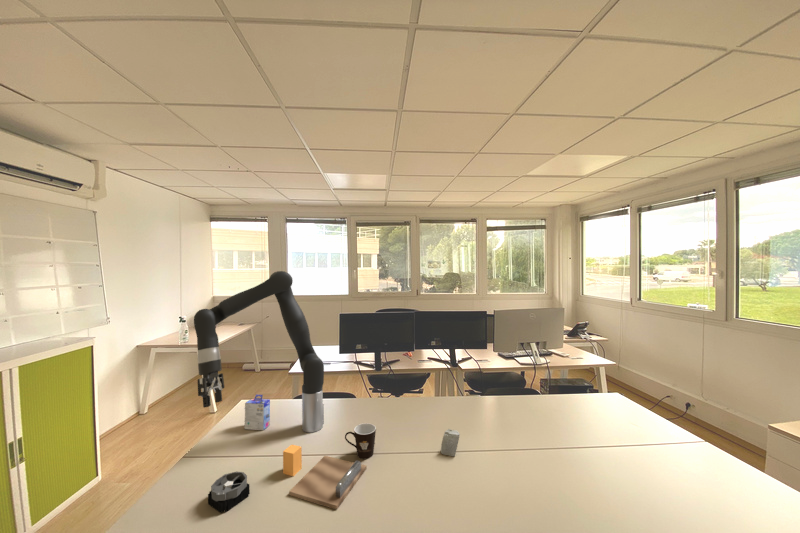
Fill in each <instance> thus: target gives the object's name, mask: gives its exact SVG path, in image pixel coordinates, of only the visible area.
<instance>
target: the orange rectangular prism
mask: <svg viewBox="0 0 800 533" xmlns="http://www.w3.org/2000/svg"><path fill="white" fill-rule="evenodd" d="M302 455H303V453H302V446H300V445H297V444H296V445H295V444H290V445H289V446H288V447H286V448H285V449H284V450H283V451H282V470H283V471H282V473H283V475H287V476H290V477H295V476H296V475H297V474H298V473H299V472H300V471H301V470H302V468H303V465H302V463H303V460H302V459H303V456H302Z"/></svg>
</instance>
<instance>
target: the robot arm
mask: <svg viewBox="0 0 800 533" xmlns="http://www.w3.org/2000/svg"><path fill="white" fill-rule="evenodd" d="M293 283H294V282H293V277H292V275H291V274H290V273H288V271H283V270H277V271H274V272H273V273H272V274H271V275H270V276H269V278H267V279H266V280H265V281H263V282H261V283H260V284H258V285H256V286H253V287H250V288H248V289H245V290H243V291H241V292H238V293H235V294H233V295H231V296H229V297H227V298H226V299H224V300H222V301H220V302H219V303H218V305H216V306H213V307H212V308H209V309H208V308H203V309H199V310H197V312H196V313H195V314H194V316H193V326H194V331H195V335H196V340H197V341H196V342H197V343H196V345H197V367H198V375H199V376H202V377H201V378H198V379H197V395H198V397H201V398H202V405H203V408H204V409H205V408H209V407H211V393H212V392H211V391H212V390H213V391H214V400H215V403H221V402H222V401H223V394H222V391H223V389H225V380H224V373H219V372H221V371H222V368H223V366H222V358H221V350H220V345H219V344H220V343H219V335H218V333H217V330H216V328H217V327H216V326H217V325H218V324H220V323H221V322H223V321H224V320H226V319H227V318H229V317H230V316H233V315H235V314H237V313H239V312H241V311H242V310H243V311H244V310H245V309H247V308H248V307H250V306H252V305H254V304H256V303H258V302H259V301H262V300H264V299H266V298H269V297H271V296H272V295H273V296H275V299H276V301H277V302H278V305H279V310H280V313H281V314H280V315H281V317H282V319H283V323H284V326H285V328H286V331H287V333H288V337H289V338H290V340H291V342H292V344H293V346H294V347H295V348H294V349H295V350H296V353H297V357H298V360H299V365H300V369H301V371H302V372H303V374H302V376H303V380H302V381H303V383H302V385H301V409H302V410H301V412H302V413H301V419H302V421H301V424H302V426H301V428H302V431H303V432H304V433H316V432H318V431H320V430H321V429H322V428H323V427H324V423H325V415H324V414H325V410H324V409H325V408H324V405H325V404H324V403H323V402H324V400H323V399H324V397H323V395H324V394H323V385H324V380H325V378H324V376H325V367H324V362H323V360H322V359H321V358H320V357H319V356H318V355H317V353H316V351H315V349H314V347H313V345H312V341H311V334H310V328H309V324H308V321H307V319H306V317H305V314H304V312H303V310H302V308H301V307H300V305H299V303H298V301H297V300H296V298H295V296H294V292H293V289H292V285H293Z"/></svg>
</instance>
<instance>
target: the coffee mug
mask: <svg viewBox="0 0 800 533" xmlns="http://www.w3.org/2000/svg"><path fill="white" fill-rule="evenodd" d="M353 431H354V432H352V431H348V432H346V433H345V434H344V435H345V436H344V439H345V441H346V442H347V443H348V444H349V445H350V446H353V447H355V449H356V455H357V457H358V458H359V459H361V460H366V459H370V458H372V457H373V456H374V453H375V452H374V451H375V443H376V442H375V441H376V433H377V432H376V431H377V427H376V425H374V424H373V423H369V422H365V423H364V422H362V423H359V424H358V425H356V426H355V427H354V429H353ZM349 434H351V435H353V437H354V440H355V444H354V443H353V442H351V441H350V440H348V439H347V436H348V435H349Z"/></svg>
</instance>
